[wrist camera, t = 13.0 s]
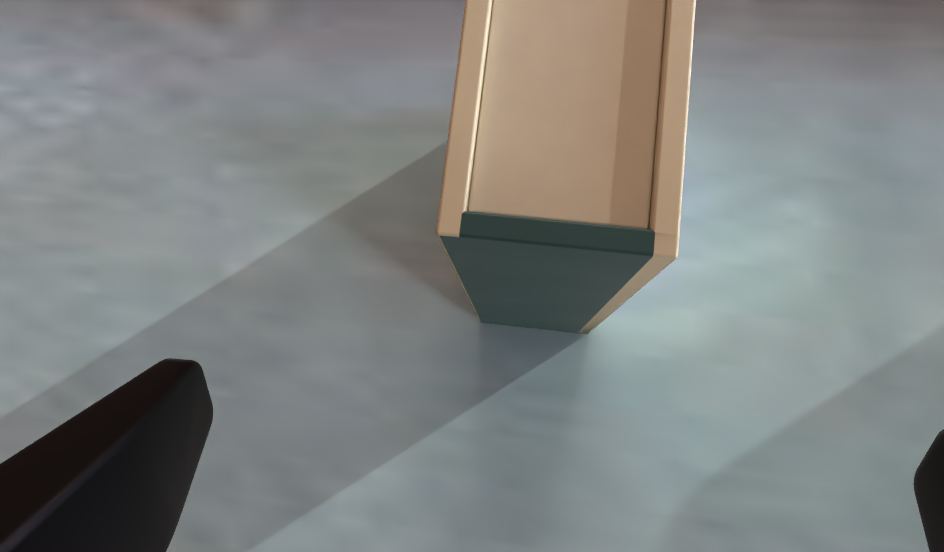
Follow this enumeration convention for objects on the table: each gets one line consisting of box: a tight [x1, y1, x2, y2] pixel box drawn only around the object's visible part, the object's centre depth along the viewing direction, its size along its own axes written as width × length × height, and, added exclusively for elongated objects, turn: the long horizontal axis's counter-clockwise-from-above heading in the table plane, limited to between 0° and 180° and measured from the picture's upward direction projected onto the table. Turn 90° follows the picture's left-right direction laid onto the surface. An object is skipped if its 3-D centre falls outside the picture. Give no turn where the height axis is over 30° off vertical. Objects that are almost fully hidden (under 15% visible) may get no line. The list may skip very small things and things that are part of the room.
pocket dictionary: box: [436, 0, 696, 334], centre depth 17 cm, size 8×4×12 cm, turn 173°
